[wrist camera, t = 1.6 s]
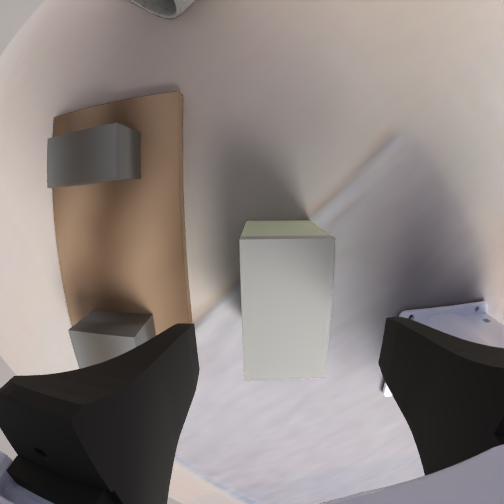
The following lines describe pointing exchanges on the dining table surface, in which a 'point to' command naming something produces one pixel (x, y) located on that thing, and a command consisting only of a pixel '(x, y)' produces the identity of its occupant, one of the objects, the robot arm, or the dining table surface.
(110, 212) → the post base
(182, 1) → the ceramic mug
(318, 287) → the bracket block
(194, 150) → the dining table surface
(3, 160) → the dining table surface
